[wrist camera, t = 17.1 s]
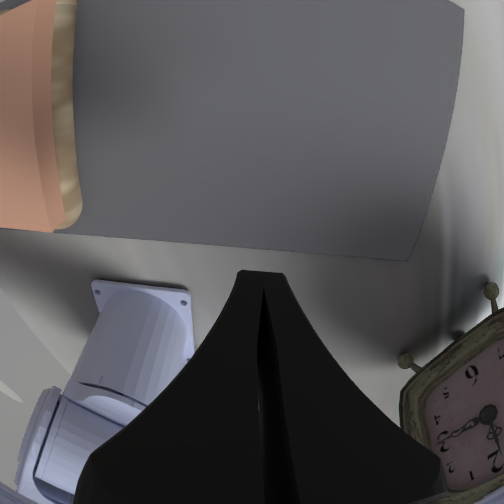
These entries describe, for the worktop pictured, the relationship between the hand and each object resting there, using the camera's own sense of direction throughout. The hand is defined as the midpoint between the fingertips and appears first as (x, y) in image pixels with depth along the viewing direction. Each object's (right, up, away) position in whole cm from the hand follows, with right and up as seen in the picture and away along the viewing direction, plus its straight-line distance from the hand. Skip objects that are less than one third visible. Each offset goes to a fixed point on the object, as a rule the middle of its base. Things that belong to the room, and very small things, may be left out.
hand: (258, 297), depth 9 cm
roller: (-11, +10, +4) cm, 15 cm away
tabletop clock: (+20, -6, +15) cm, 26 cm away
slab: (-18, +9, +2) cm, 20 cm away
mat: (-8, +10, +5) cm, 14 cm away
